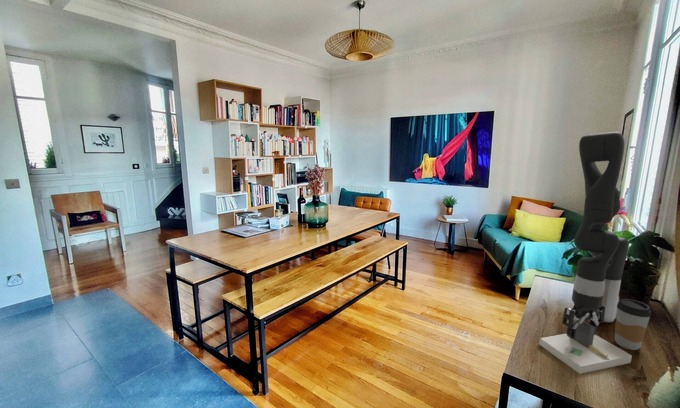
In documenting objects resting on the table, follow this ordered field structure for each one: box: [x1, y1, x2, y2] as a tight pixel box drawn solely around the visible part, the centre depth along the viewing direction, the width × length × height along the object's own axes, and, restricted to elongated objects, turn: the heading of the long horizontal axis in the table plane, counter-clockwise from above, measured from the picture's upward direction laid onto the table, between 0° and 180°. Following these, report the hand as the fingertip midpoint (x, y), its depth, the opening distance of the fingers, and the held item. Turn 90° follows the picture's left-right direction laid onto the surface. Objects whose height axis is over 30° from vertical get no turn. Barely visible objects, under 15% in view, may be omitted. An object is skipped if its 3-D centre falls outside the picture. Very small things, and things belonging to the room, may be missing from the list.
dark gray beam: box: [573, 316, 608, 357], centre depth 98 cm, size 2×11×7 cm, turn 13°
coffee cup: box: [614, 298, 652, 351], centre depth 102 cm, size 8×8×15 cm
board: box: [539, 332, 633, 375], centre depth 99 cm, size 20×14×3 cm
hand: (580, 335), depth 101 cm, fingers open, 8 cm apart
